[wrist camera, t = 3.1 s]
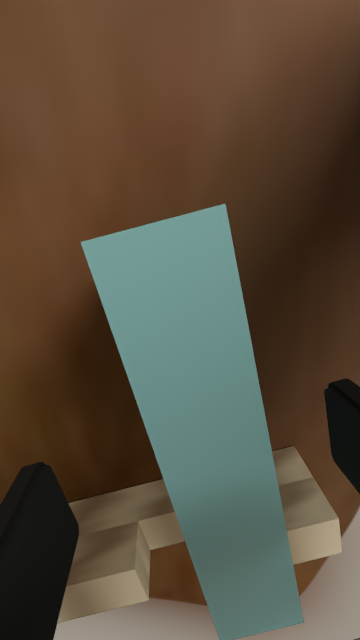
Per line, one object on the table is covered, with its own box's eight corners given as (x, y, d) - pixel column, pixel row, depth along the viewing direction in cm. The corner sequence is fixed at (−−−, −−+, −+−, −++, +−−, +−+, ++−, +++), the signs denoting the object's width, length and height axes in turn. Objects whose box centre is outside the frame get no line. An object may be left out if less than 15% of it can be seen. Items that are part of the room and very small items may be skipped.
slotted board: (293, 445, 23) (338, 518, 17) (298, 474, 24) (342, 552, 18) (50, 507, 23) (14, 599, 17) (64, 533, 24) (34, 628, 18)
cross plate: (133, 232, 17) (80, 242, 6) (182, 220, 17) (225, 203, 6) (188, 423, 22) (220, 642, 10) (227, 413, 22) (304, 622, 10)
